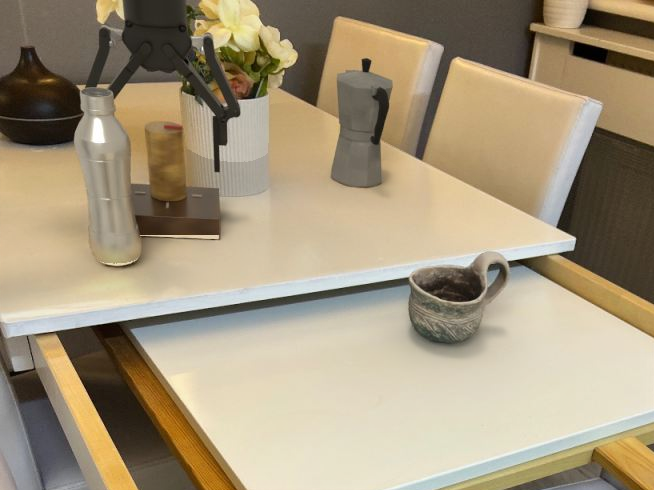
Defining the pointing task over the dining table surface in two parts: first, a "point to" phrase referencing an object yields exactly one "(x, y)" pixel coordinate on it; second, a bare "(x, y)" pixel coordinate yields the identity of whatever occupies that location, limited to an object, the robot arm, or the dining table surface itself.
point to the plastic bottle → (107, 179)
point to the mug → (454, 297)
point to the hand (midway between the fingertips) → (167, 166)
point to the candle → (166, 160)
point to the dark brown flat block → (177, 212)
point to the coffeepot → (360, 126)
